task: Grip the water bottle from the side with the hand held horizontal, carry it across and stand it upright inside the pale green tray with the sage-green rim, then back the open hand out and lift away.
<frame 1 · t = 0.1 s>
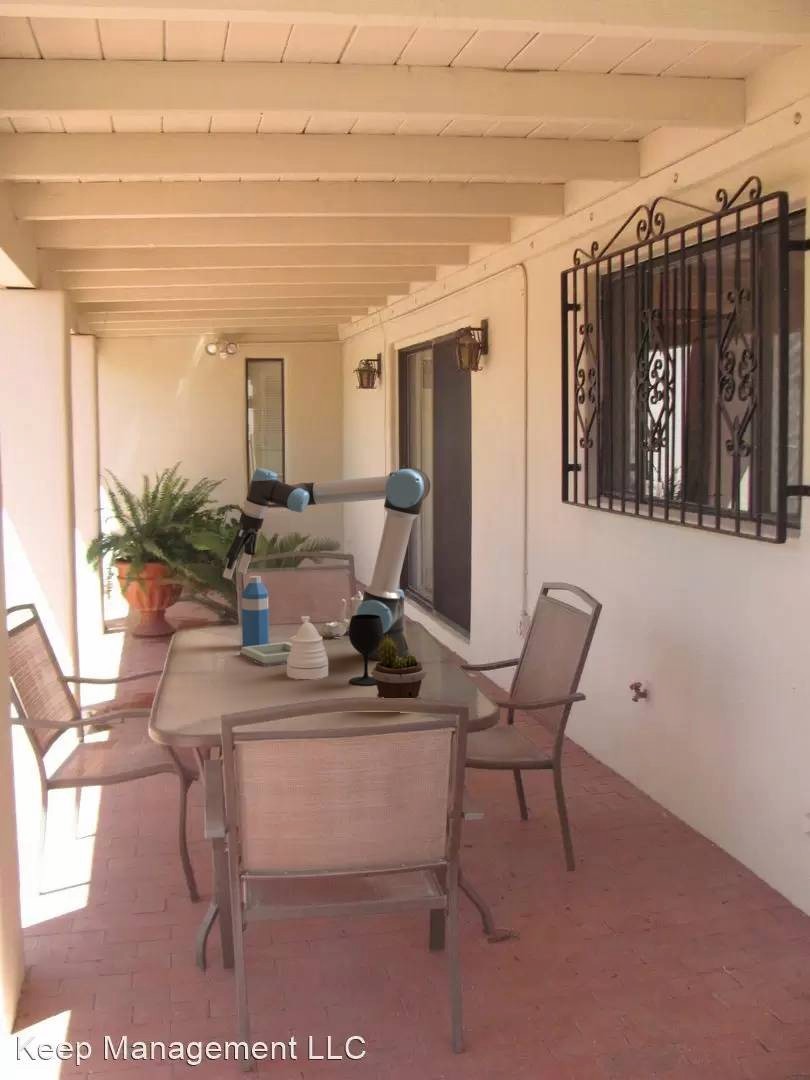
hand: (234, 575, 344), 28 cm above the table, tool tilted 20°, fingers open, 13 cm apart
honey pot: (307, 675, 324), on the table
pale green tray: (275, 657, 347), on the table
water bottle: (255, 648, 363), on the table
wine glass: (365, 682, 315), on the table
chinaware: (359, 636, 385), on the table
flowerpot: (398, 706, 289), on the table
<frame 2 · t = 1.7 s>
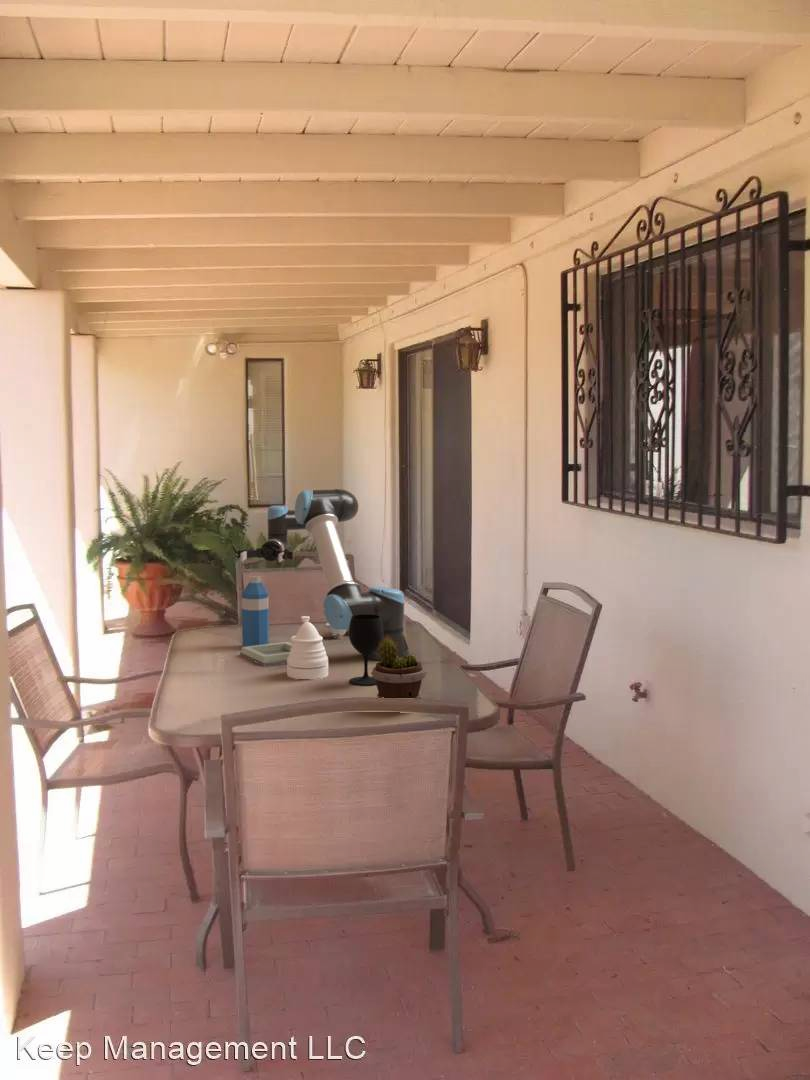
hand: (260, 557, 368), 30 cm above the table, tool horizontal, fingers open, 13 cm apart
nothing on the table moved.
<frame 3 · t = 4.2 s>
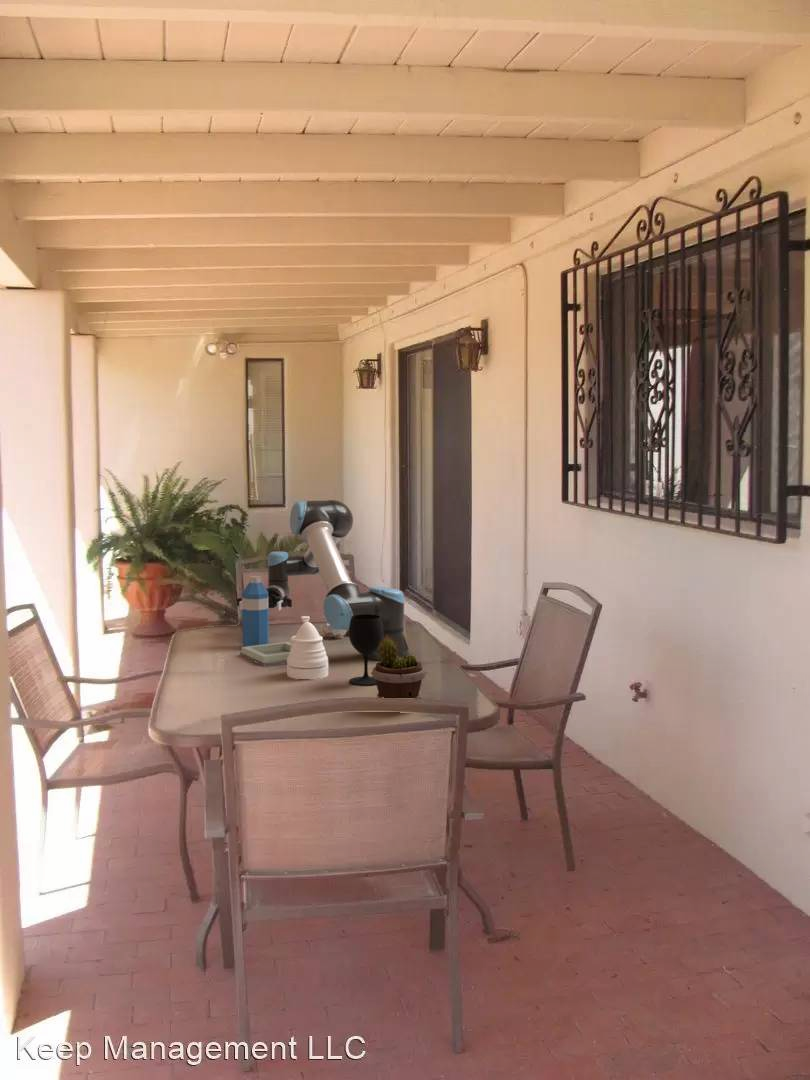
hand: (259, 606, 368), 13 cm above the table, tool horizontal, fingers open, 13 cm apart
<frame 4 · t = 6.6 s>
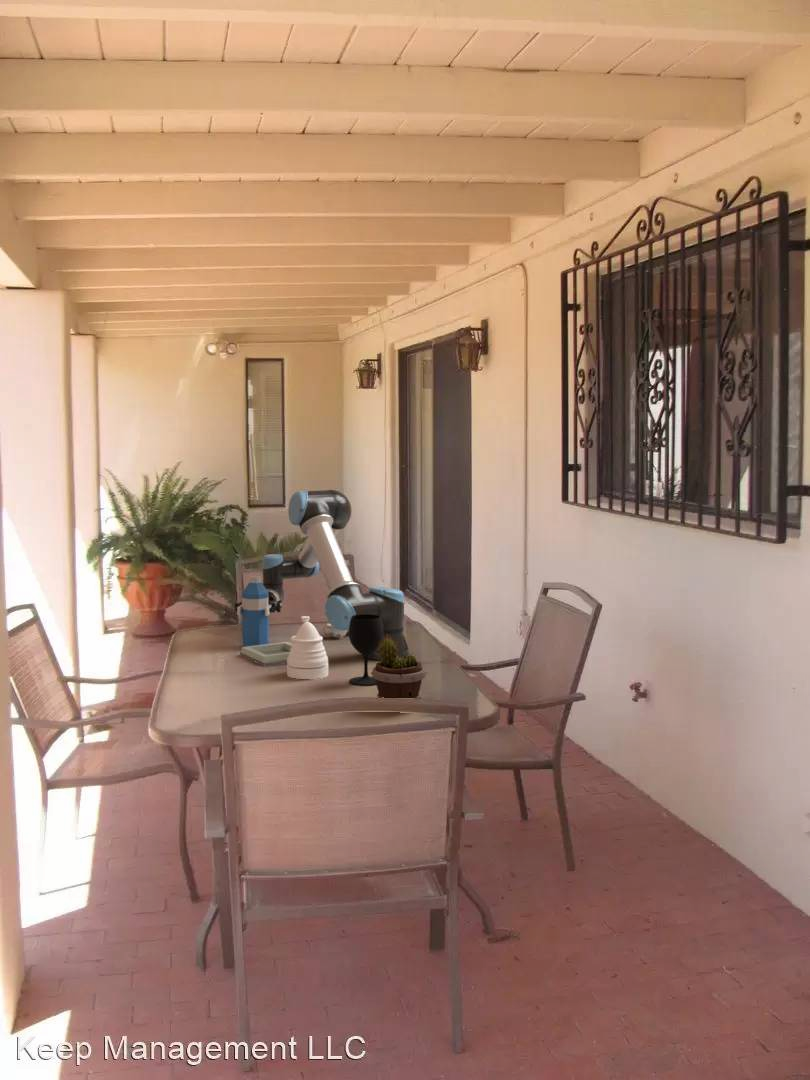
hand: (252, 611, 357), 14 cm above the table, tool horizontal, fingers closed on water bottle, 9 cm apart
water bottle: (255, 648, 363), on the table, touching gripper
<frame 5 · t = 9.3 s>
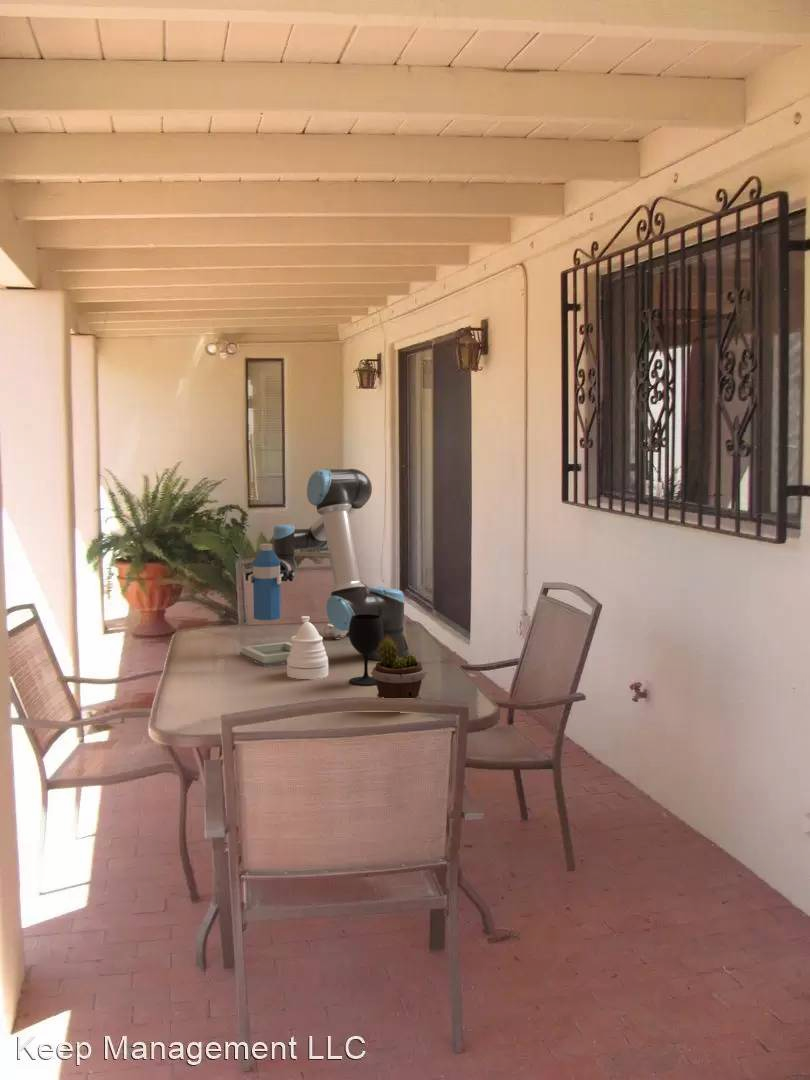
hand: (263, 580, 346), 26 cm above the table, tool horizontal, fingers closed on water bottle, 9 cm apart
water bottle: (267, 618, 351), point 12 cm above the table, touching gripper
when the fingers open (16 cm above the table, at t = 12.1 s): water bottle drops 1 cm, resting on pale green tray.
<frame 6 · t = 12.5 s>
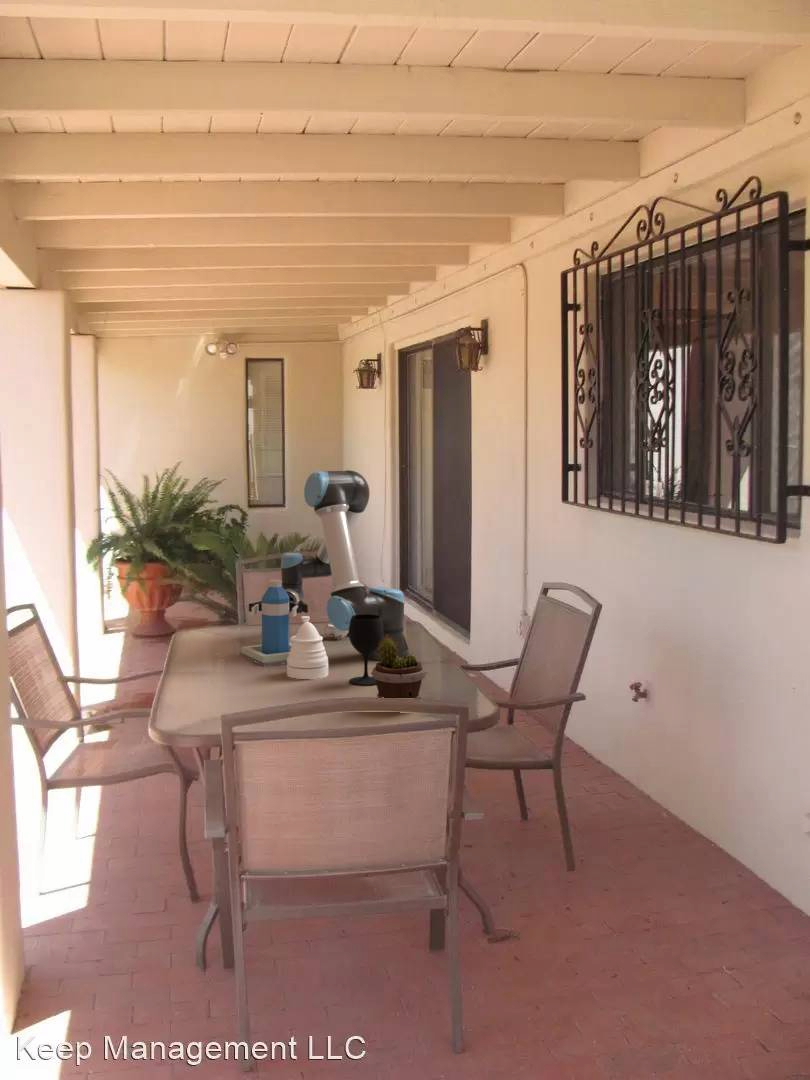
hand: (273, 612, 342), 16 cm above the table, tool horizontal, fingers open, 13 cm apart
water bottle: (275, 655, 347), point 1 cm above the table, touching pale green tray
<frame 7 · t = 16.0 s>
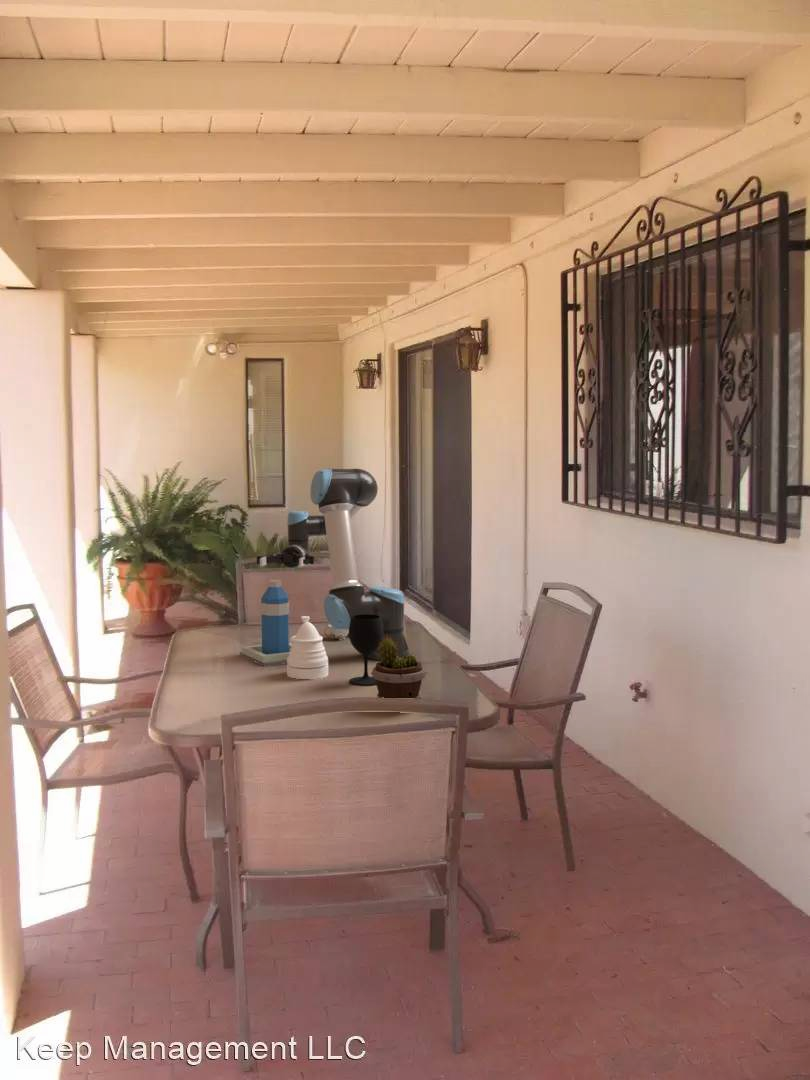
hand: (280, 562, 354), 31 cm above the table, tool horizontal, fingers open, 13 cm apart
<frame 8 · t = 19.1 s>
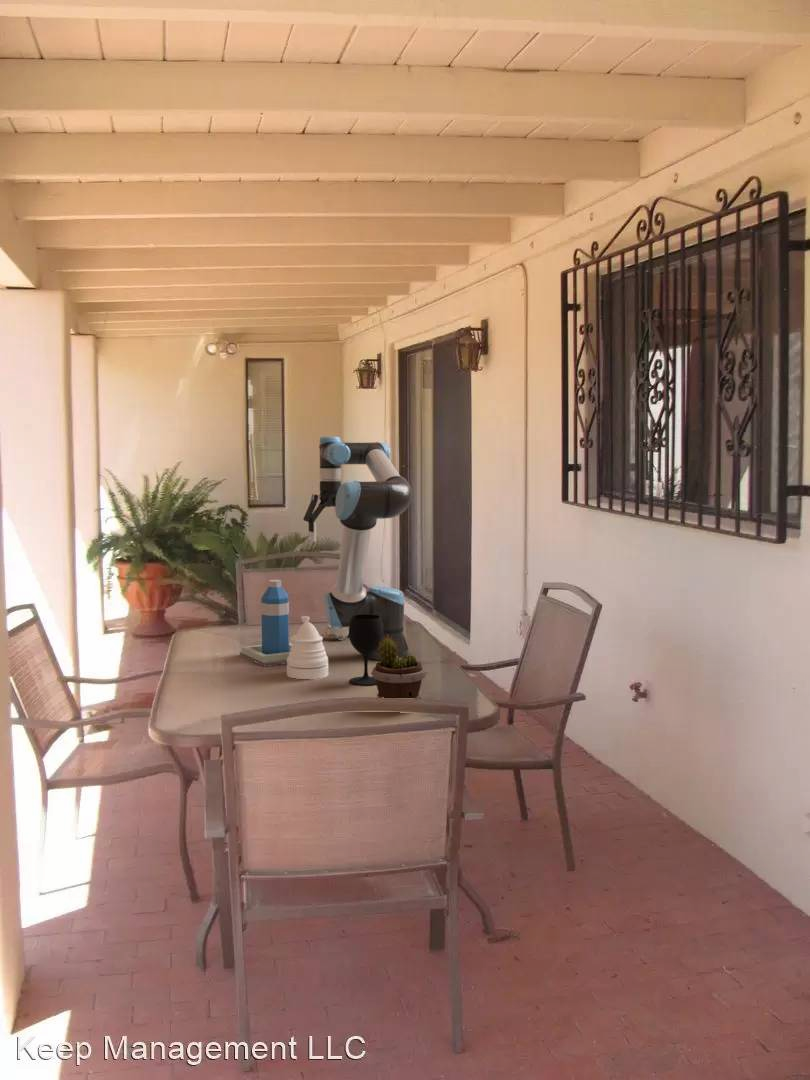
hand: (330, 540, 369), 37 cm above the table, tool pointing down, fingers open, 13 cm apart
at the end: water bottle 0.1 cm off-centre on the pale green tray, point 0.8 cm above the pale green tray's base; water bottle tilted 0°; the gripper is holding nothing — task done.
